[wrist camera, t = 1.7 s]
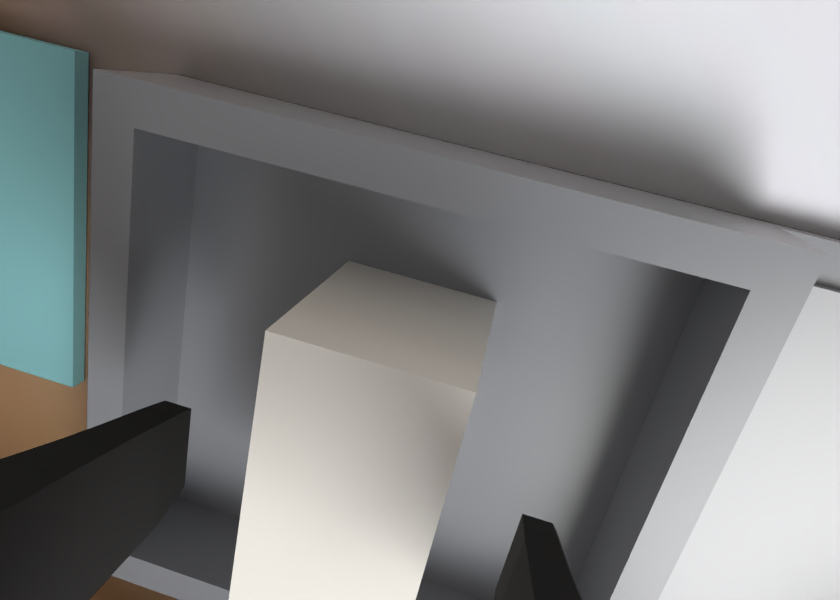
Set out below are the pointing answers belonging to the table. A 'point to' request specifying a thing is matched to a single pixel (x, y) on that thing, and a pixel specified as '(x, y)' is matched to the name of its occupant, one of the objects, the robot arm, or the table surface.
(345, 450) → the block
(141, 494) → the robot arm
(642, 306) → the case
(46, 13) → the table surface
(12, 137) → the teal pad
